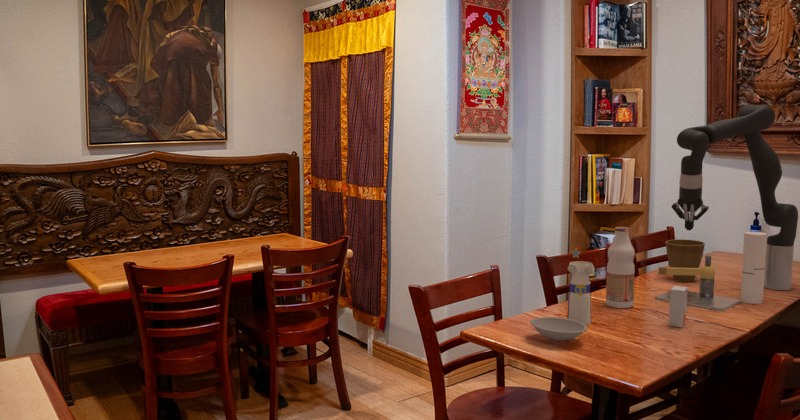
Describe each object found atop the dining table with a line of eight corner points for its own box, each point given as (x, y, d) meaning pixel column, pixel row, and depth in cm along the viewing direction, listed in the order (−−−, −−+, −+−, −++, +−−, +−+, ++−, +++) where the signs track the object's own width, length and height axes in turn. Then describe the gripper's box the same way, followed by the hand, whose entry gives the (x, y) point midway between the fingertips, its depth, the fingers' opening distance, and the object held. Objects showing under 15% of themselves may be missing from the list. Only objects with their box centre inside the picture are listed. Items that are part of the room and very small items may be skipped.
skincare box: (682, 328, 216) (684, 290, 215) (668, 326, 219) (670, 289, 217) (686, 323, 222) (687, 287, 220) (672, 321, 224) (673, 285, 222)
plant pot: (674, 274, 293) (675, 238, 291) (709, 280, 282) (711, 242, 281) (657, 280, 283) (658, 242, 281) (693, 286, 272) (694, 246, 271)
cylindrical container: (765, 304, 244) (769, 235, 241) (743, 303, 246) (747, 234, 243) (759, 299, 251) (763, 232, 248) (738, 298, 253) (741, 231, 250)
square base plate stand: (675, 291, 264) (676, 250, 262) (740, 302, 247) (743, 258, 245) (654, 299, 252) (656, 256, 250) (722, 311, 235) (724, 265, 233)
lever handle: (712, 276, 254) (712, 265, 253) (716, 279, 249) (716, 267, 249) (657, 275, 257) (657, 263, 256) (660, 278, 252) (660, 266, 252)
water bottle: (594, 325, 219) (596, 249, 216) (566, 324, 221) (568, 248, 218) (592, 318, 227) (594, 244, 224) (565, 317, 229) (567, 243, 226)
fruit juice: (610, 309, 239) (613, 229, 236) (602, 302, 249) (604, 225, 245) (637, 308, 240) (640, 229, 236) (627, 301, 249) (630, 225, 246)
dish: (519, 339, 206) (519, 323, 206) (547, 329, 216) (548, 314, 215) (569, 353, 193) (570, 335, 193) (597, 342, 203) (597, 325, 202)
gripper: (712, 183, 245) (710, 228, 251) (674, 180, 253) (672, 223, 258) (708, 189, 240) (706, 235, 245) (668, 186, 247) (667, 230, 253)
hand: (689, 229), depth 252 cm, fingers closed
